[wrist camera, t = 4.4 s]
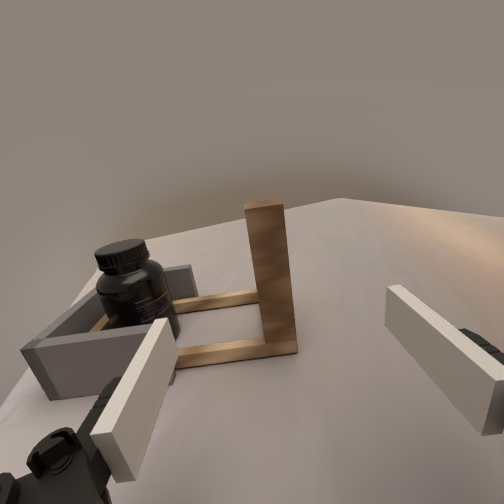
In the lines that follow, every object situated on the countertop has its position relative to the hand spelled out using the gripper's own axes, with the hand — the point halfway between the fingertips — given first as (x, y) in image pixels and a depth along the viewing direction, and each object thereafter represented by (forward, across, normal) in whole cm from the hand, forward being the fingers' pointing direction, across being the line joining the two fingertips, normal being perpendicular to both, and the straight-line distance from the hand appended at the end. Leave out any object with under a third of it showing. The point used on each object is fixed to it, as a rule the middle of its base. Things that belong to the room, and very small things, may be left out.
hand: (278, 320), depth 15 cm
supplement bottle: (+12, -15, -9) cm, 21 cm away
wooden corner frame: (+12, -9, -9) cm, 17 cm away
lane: (+12, -16, -9) cm, 22 cm away
